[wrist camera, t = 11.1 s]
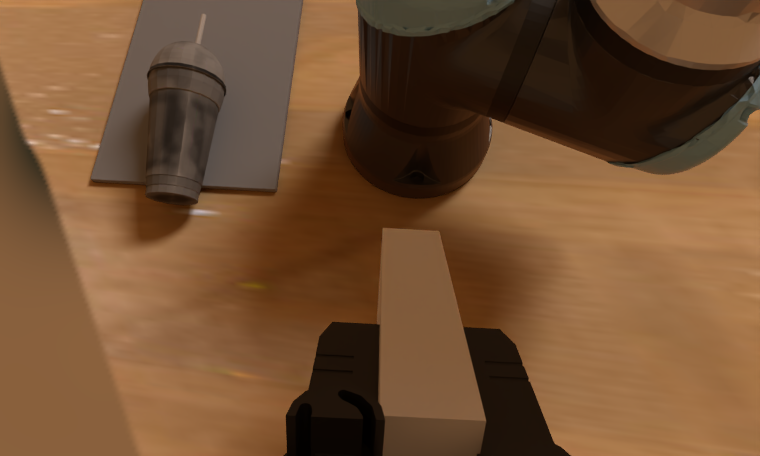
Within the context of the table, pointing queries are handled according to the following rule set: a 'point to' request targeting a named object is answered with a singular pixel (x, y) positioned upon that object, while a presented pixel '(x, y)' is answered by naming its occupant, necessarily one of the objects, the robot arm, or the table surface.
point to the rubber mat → (242, 80)
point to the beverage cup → (181, 119)
